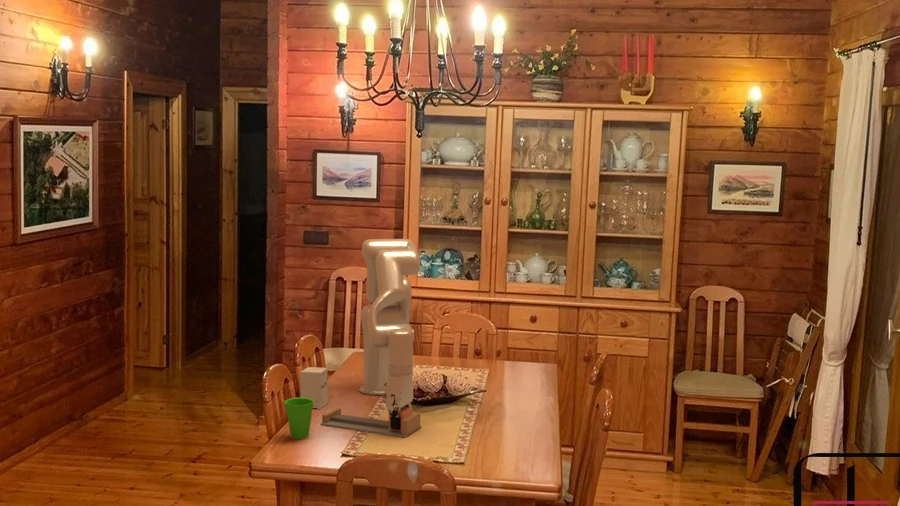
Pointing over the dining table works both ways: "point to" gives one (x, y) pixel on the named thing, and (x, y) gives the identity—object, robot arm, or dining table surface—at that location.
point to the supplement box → (314, 385)
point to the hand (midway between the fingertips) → (400, 425)
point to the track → (371, 423)
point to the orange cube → (402, 415)
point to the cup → (299, 416)
